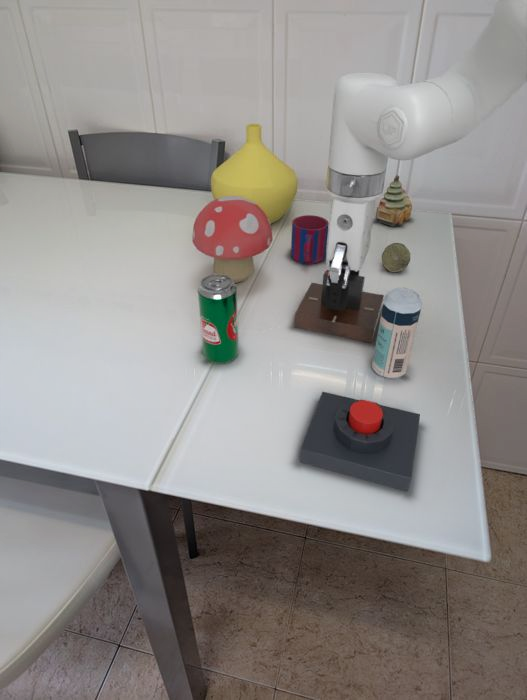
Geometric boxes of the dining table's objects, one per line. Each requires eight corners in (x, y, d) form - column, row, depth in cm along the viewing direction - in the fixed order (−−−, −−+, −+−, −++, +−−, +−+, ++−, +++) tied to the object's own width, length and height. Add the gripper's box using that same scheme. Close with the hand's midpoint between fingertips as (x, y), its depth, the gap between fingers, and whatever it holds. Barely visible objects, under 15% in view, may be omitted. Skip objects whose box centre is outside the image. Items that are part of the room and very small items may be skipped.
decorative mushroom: (262, 259, 94) (263, 181, 85) (280, 296, 84) (282, 211, 74) (192, 267, 92) (184, 186, 82) (201, 305, 81) (193, 219, 72)
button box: (416, 426, 60) (423, 403, 58) (407, 491, 53) (414, 467, 51) (321, 403, 64) (323, 380, 61) (299, 462, 56) (301, 438, 54)
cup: (328, 250, 97) (331, 217, 93) (319, 274, 90) (322, 240, 85) (294, 246, 99) (296, 213, 94) (283, 269, 91) (284, 235, 87)
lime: (411, 270, 91) (416, 245, 88) (391, 277, 89) (396, 251, 86) (394, 260, 94) (399, 236, 91) (375, 266, 92) (378, 242, 89)
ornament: (388, 211, 113) (395, 166, 106) (413, 218, 110) (422, 172, 103) (371, 222, 108) (378, 176, 101) (397, 230, 105) (405, 183, 98)
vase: (195, 223, 107) (187, 129, 95) (242, 196, 119) (240, 110, 107) (268, 243, 99) (269, 144, 88) (310, 212, 112) (316, 121, 100)
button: (382, 415, 57) (385, 404, 56) (377, 437, 54) (380, 426, 53) (351, 408, 58) (353, 397, 57) (345, 429, 55) (347, 418, 54)
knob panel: (381, 307, 81) (384, 293, 79) (371, 343, 74) (374, 328, 72) (310, 294, 84) (311, 281, 83) (293, 327, 77) (294, 313, 75)
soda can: (197, 352, 72) (189, 280, 64) (226, 339, 74) (222, 268, 67) (216, 370, 69) (210, 296, 61) (245, 356, 71) (244, 284, 64)
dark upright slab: (360, 304, 77) (365, 275, 74) (358, 310, 76) (363, 280, 73) (323, 298, 79) (325, 268, 75) (320, 303, 77) (323, 273, 74)
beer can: (411, 366, 69) (428, 292, 62) (398, 385, 66) (416, 310, 59) (378, 354, 71) (392, 282, 64) (365, 372, 68) (378, 298, 61)
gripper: (373, 208, 58) (355, 327, 69) (392, 163, 71) (375, 269, 81) (311, 200, 60) (303, 317, 70) (341, 158, 73) (330, 262, 83)
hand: (341, 291), depth 76 cm, fingers open, 9 cm apart
